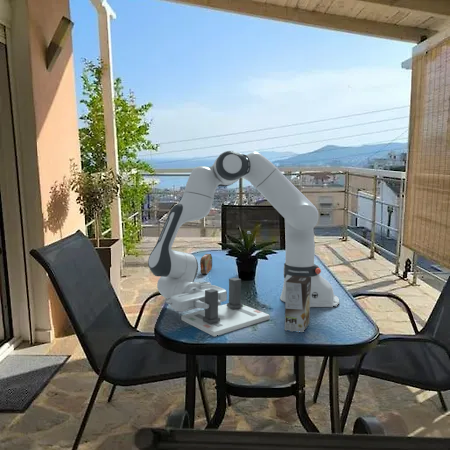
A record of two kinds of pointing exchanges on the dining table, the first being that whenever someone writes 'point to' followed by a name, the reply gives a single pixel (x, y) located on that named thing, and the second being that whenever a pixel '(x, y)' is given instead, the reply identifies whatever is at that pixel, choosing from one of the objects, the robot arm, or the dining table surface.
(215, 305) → the post
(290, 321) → the coffee box
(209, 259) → the tin
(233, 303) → the post
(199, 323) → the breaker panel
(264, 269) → the dining table surface
